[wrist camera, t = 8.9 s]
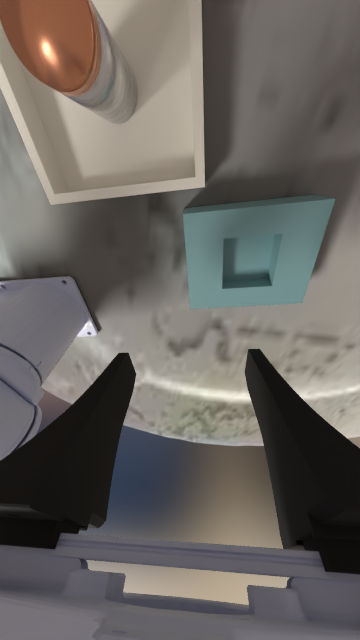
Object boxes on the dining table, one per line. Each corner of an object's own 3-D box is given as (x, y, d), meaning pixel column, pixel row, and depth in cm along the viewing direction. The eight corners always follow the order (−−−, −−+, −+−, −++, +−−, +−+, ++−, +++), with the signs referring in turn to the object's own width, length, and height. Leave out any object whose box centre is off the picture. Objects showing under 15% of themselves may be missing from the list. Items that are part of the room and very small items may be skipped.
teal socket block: (190, 293, 21) (190, 308, 18) (184, 207, 16) (182, 214, 14) (289, 287, 20) (302, 303, 17) (313, 194, 15) (336, 198, 13)
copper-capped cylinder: (104, 131, 13) (39, 103, 8) (78, 64, 11) (-31, -37, 6) (145, 113, 12) (107, 66, 7) (123, 38, 11) (51, -103, 5)
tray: (68, 201, 16) (50, 204, 14) (-32, -64, 10) (-91, -126, 8) (203, 185, 15) (204, 187, 13) (196, -129, 8) (197, -222, 6)
